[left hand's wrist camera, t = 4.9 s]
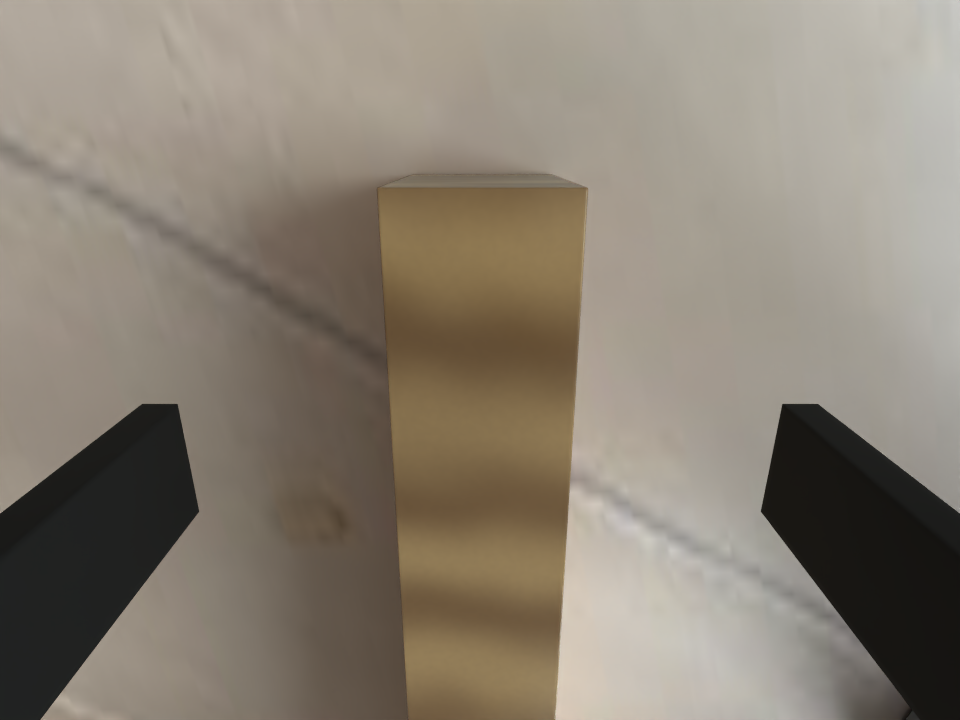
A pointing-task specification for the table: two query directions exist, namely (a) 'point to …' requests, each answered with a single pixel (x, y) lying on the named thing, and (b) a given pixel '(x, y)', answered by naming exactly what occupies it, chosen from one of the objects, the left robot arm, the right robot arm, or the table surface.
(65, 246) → the table surface
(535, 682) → the bar
